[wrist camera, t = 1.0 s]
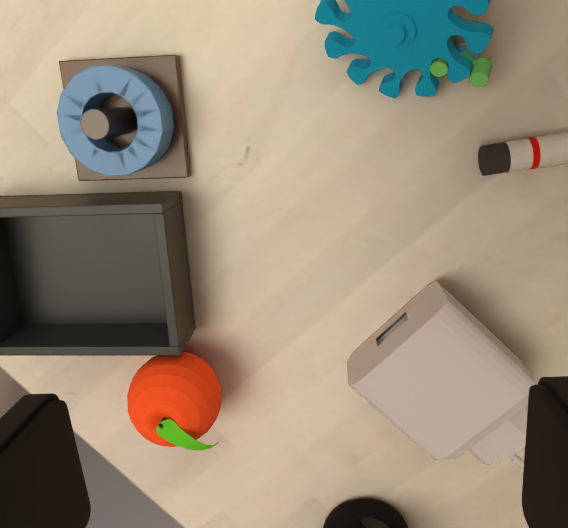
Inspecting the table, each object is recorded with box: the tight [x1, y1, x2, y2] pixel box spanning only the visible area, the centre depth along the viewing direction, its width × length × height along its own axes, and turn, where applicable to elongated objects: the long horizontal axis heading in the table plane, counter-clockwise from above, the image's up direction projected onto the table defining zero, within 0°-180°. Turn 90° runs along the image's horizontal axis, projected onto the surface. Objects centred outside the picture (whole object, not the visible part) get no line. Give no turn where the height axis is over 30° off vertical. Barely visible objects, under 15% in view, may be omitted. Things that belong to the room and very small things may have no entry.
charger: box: [347, 282, 535, 468], centre depth 38 cm, size 5×9×15 cm
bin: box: [0, 191, 196, 355], centre depth 38 cm, size 11×14×4 cm
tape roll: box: [57, 65, 174, 176], centre depth 34 cm, size 7×7×3 cm
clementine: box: [127, 352, 222, 450], centre depth 39 cm, size 8×7×7 cm
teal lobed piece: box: [315, 0, 494, 98], centre depth 30 cm, size 11×6×10 cm
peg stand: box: [59, 55, 190, 181], centre depth 33 cm, size 8×8×6 cm
